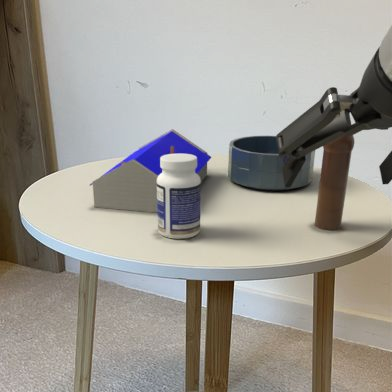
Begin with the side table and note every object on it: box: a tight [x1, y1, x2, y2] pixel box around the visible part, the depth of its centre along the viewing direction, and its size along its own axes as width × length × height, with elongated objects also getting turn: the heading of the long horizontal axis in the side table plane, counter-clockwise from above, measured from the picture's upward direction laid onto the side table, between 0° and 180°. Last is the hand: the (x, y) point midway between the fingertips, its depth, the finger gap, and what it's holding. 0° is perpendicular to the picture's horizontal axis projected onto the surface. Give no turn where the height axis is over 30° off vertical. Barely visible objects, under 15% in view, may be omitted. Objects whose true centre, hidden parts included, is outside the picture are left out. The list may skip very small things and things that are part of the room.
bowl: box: [227, 135, 316, 192], centre depth 101 cm, size 14×14×6 cm
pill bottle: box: [156, 153, 202, 240], centre depth 78 cm, size 6×6×10 cm
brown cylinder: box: [314, 135, 355, 231], centre depth 80 cm, size 4×4×13 cm
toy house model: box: [89, 128, 212, 214], centre depth 95 cm, size 22×14×7 cm, turn 167°
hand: (335, 176), depth 79 cm, fingers open, 13 cm apart
